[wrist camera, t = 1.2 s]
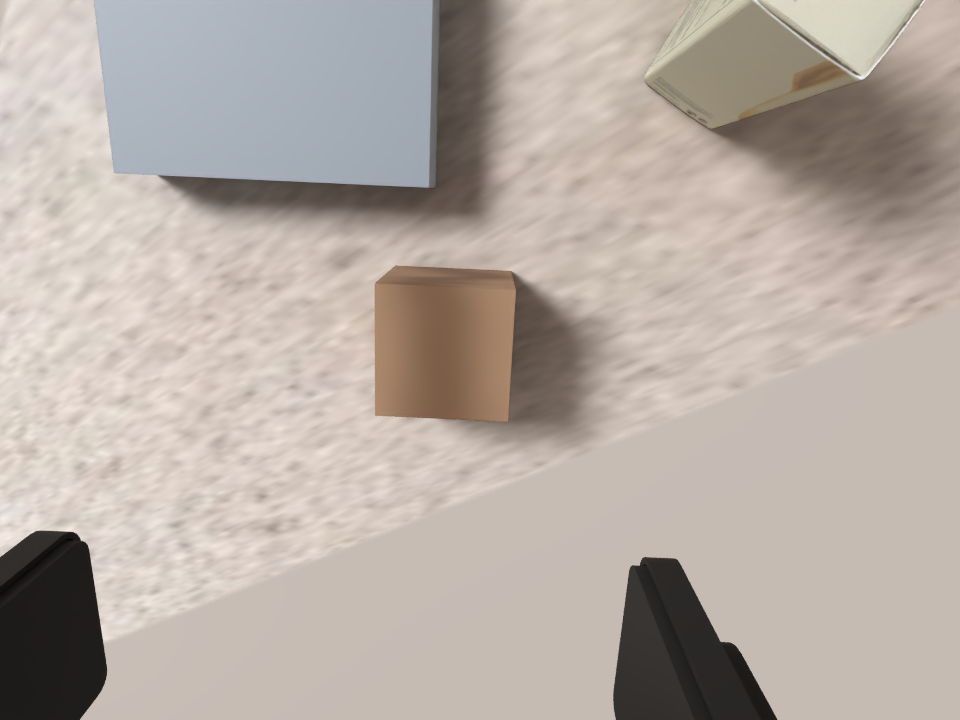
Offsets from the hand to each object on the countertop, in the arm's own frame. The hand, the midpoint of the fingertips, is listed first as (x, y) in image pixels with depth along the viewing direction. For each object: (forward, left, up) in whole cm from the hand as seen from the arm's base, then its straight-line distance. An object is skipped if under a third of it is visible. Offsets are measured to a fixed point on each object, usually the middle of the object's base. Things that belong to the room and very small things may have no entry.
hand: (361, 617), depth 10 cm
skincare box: (-12, -14, -23) cm, 29 cm away
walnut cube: (0, 0, -23) cm, 23 cm away
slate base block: (+8, -14, -23) cm, 28 cm away
